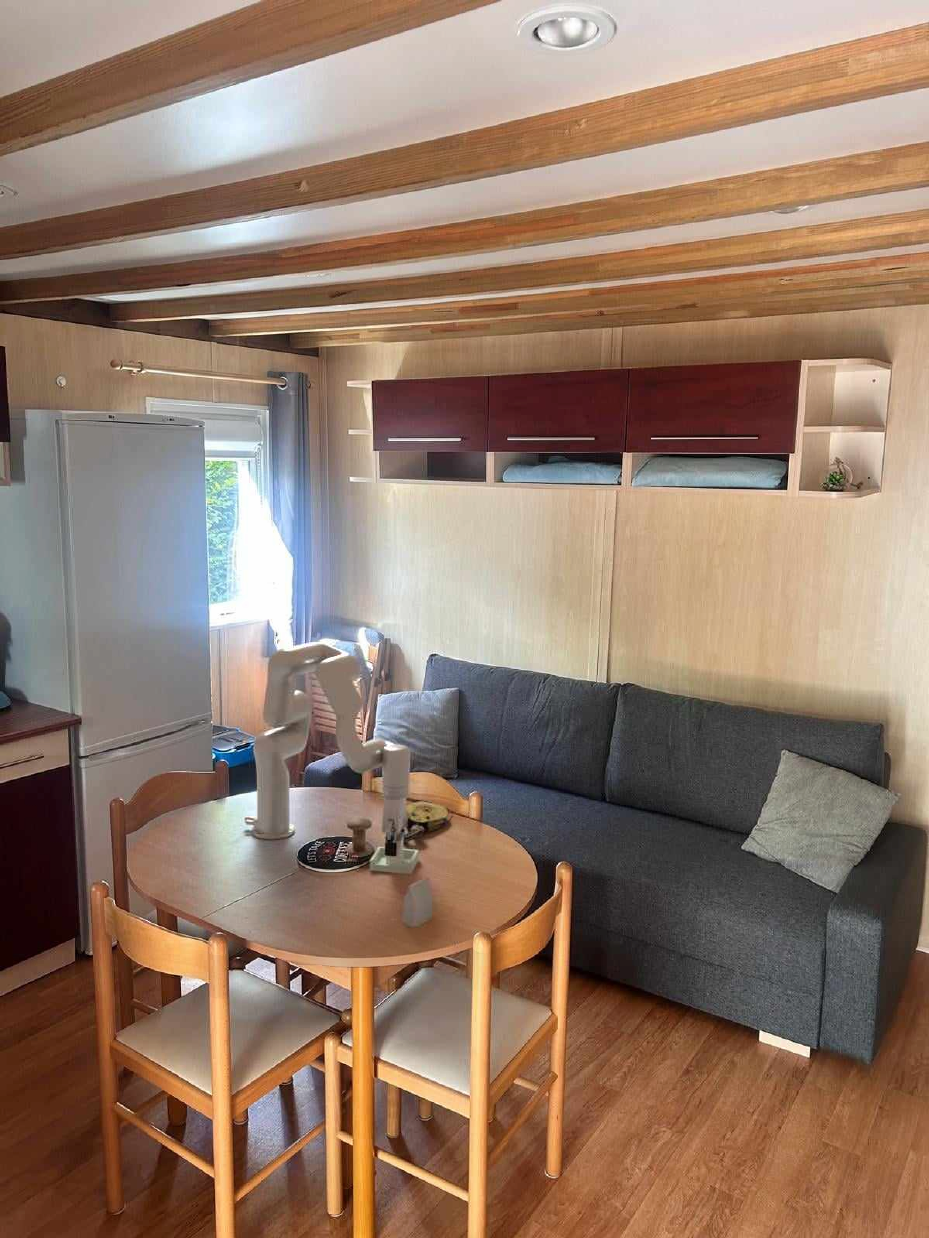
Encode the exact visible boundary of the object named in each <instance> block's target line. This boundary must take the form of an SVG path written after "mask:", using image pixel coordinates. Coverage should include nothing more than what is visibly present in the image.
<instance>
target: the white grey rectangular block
mask: <svg viewBox="0 0 929 1238" xmlns="http://www.w3.org/2000/svg"><path fill="white" fill-rule="evenodd" d="M391 835H392V836H393V838H394V834H391ZM396 842H397V855H396V857H393V856H386V864H389V865H401V863H402V861H403V849H404V843H405V842H404V832H399V833H398V834H397V837H396Z"/></svg>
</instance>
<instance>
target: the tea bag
mask: <svg viewBox="0 0 929 1238" xmlns="http://www.w3.org/2000/svg"><path fill="white" fill-rule="evenodd" d="M433 907H434V894H433V891H432V888H431V884H430V881H429V878H428V877H425V878H423V879H420V880H417V882H416V881H415V882H413V883H411V884H410V885H408V886H407V891H406V892H405V895H404V898H403V900H402V923H403V924H404V925H407V926H410V927H412V928H415V927H418V926H420V925H421V924H424V923H426V922H427V921H429V920H432V919H433V916H434V915H433V912H434V909H433Z"/></svg>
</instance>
